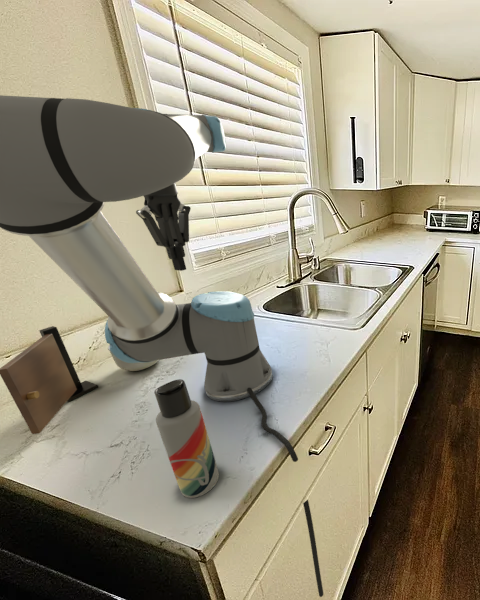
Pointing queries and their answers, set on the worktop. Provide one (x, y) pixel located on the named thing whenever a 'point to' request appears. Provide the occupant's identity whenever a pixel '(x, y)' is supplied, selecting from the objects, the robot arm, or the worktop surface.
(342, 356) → the worktop surface
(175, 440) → the lotion bottle
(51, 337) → the door
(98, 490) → the worktop surface
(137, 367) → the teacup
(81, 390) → the door post
